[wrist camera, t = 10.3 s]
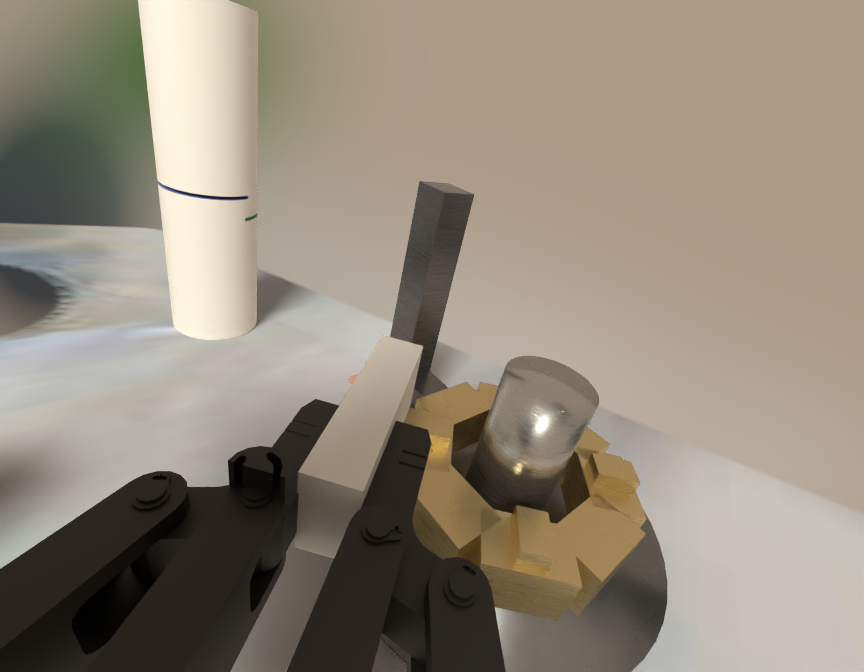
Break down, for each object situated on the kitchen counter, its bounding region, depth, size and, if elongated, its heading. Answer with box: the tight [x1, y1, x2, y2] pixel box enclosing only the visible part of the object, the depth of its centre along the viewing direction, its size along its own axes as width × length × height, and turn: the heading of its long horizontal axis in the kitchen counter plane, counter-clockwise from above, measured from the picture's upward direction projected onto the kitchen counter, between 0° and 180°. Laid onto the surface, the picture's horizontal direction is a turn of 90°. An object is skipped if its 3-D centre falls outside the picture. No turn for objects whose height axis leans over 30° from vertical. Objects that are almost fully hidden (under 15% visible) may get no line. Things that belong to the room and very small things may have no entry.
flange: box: [381, 356, 667, 672], centre depth 24 cm, size 20×20×11 cm
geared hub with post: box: [390, 181, 647, 621], centre depth 24 cm, size 19×14×16 cm
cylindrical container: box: [138, 0, 258, 340], centre depth 34 cm, size 7×7×25 cm
